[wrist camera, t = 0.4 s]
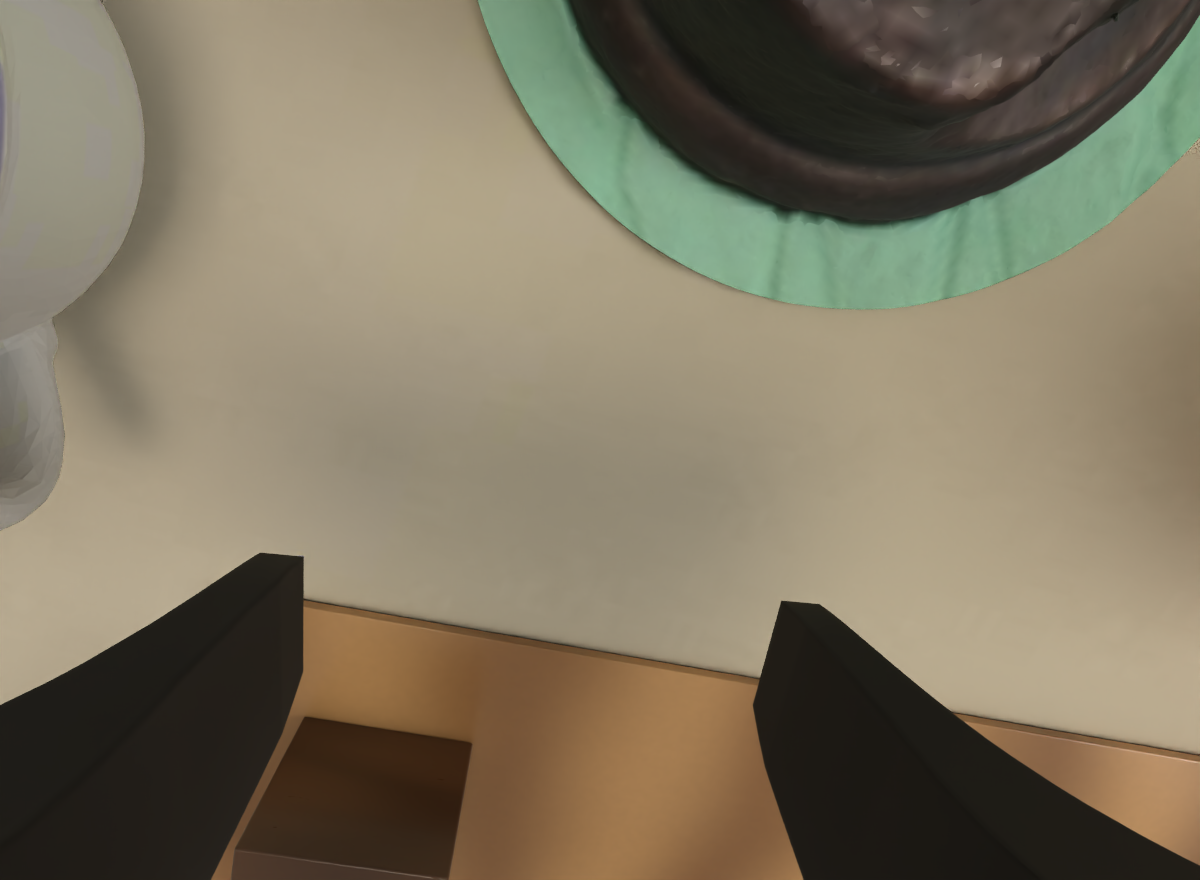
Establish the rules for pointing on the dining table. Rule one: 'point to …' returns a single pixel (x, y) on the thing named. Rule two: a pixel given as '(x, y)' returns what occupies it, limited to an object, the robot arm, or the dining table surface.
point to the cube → (357, 807)
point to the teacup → (55, 211)
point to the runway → (635, 754)
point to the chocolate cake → (858, 130)
